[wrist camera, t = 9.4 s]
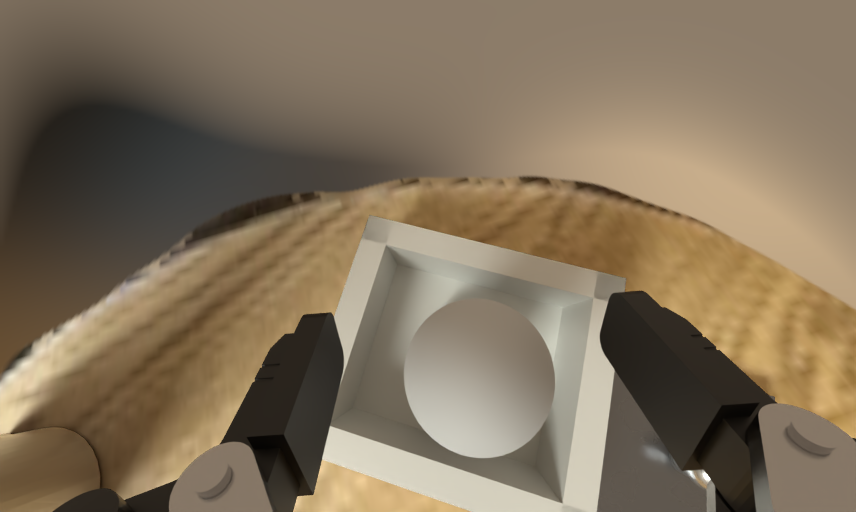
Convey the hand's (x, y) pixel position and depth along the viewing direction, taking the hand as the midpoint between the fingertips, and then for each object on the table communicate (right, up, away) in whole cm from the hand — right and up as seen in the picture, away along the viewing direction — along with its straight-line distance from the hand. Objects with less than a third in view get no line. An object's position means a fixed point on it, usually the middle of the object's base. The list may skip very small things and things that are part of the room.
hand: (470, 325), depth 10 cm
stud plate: (+14, -11, +12) cm, 21 cm away
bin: (+1, -5, +14) cm, 15 cm away
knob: (+1, -5, +13) cm, 14 cm away
